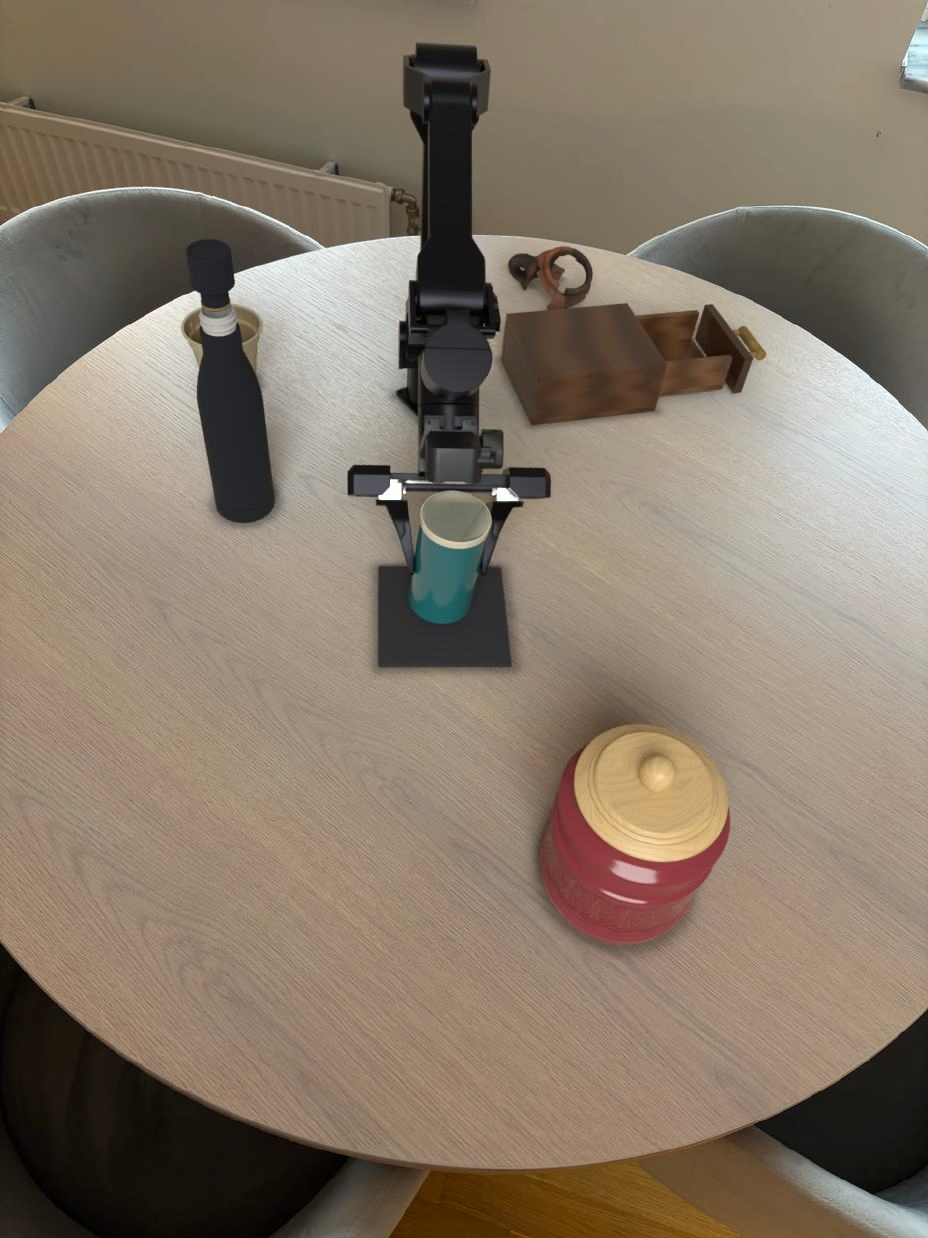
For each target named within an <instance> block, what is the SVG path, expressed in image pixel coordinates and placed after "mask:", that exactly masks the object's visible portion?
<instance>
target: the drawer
mask: <svg viewBox="0 0 928 1238" xmlns="http://www.w3.org/2000/svg"><path fill="white" fill-rule="evenodd" d="M635 316H636V317H637V319H638V320H639V322H640V323H641V325H642V326H643V328H644V329H645V331H646V332H647V334H648V335H649V337H650V339H651V340H652V342H653V343H654V345H655V346H656V348H657V349H658V351H659V352H660V354H661V355H662V357H663V358H664V360H665V361H666V363H667V368H666V372H665V375H664V379H663V382H662V386H661V390H660V393H659V397H667V396H677V395H684V394H685V395H686V394H693V393H702V392H710V391H721V390H723V388H724V385H725V384H726V385H727V387H728V388H729V390H730V392H731V393H732V394H741V393H742V391H743V389H744V386H745V383H746V380H747V377H748V375H749V373H750V369H751V367H752V363H753V362H754V359H756V361H763V360H764V359H766V357H767V352H766V350H765V349H764V348H763V347H762V345H761V344H760V342H759V341H758V340H757V339H756V337H755V336H754V335H753V334H752V332H751V331H750V330H749V328H748V327H747V326H746V325H741V326H739V327H738V328H737V329H732V328H731V326H730V325H729V324H728V322H727V321H726V320H725V319H724V317H723V316H722V314H721V313H720V312H719V310H718V309H717V308H716V307H715V305H714V304H713V303H710V304H704V305H703V309H702V314H701V316H700V311H699V310H698V309H692V310H683V311H682V310H681V311H670V312H660V313H651V314H638V315H635ZM699 317H700V319H699ZM698 320H699V322H698ZM697 324H698V327H697ZM696 327H697V330H696ZM695 330H696V333H695ZM694 333H695V337H693V336H694ZM693 338H694V340H695V341H694V340H693ZM740 339H741V340H740ZM695 342H696V343H697V344H696V343H695ZM743 343H744V344H743ZM697 345H698V346H699V347H700V348H699V347H698V346H697ZM745 346H746V347H745ZM700 349H701V350H702V351H701V350H700ZM702 352H703V353H704V354H703V353H702ZM705 356H706V357H705Z"/></svg>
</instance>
